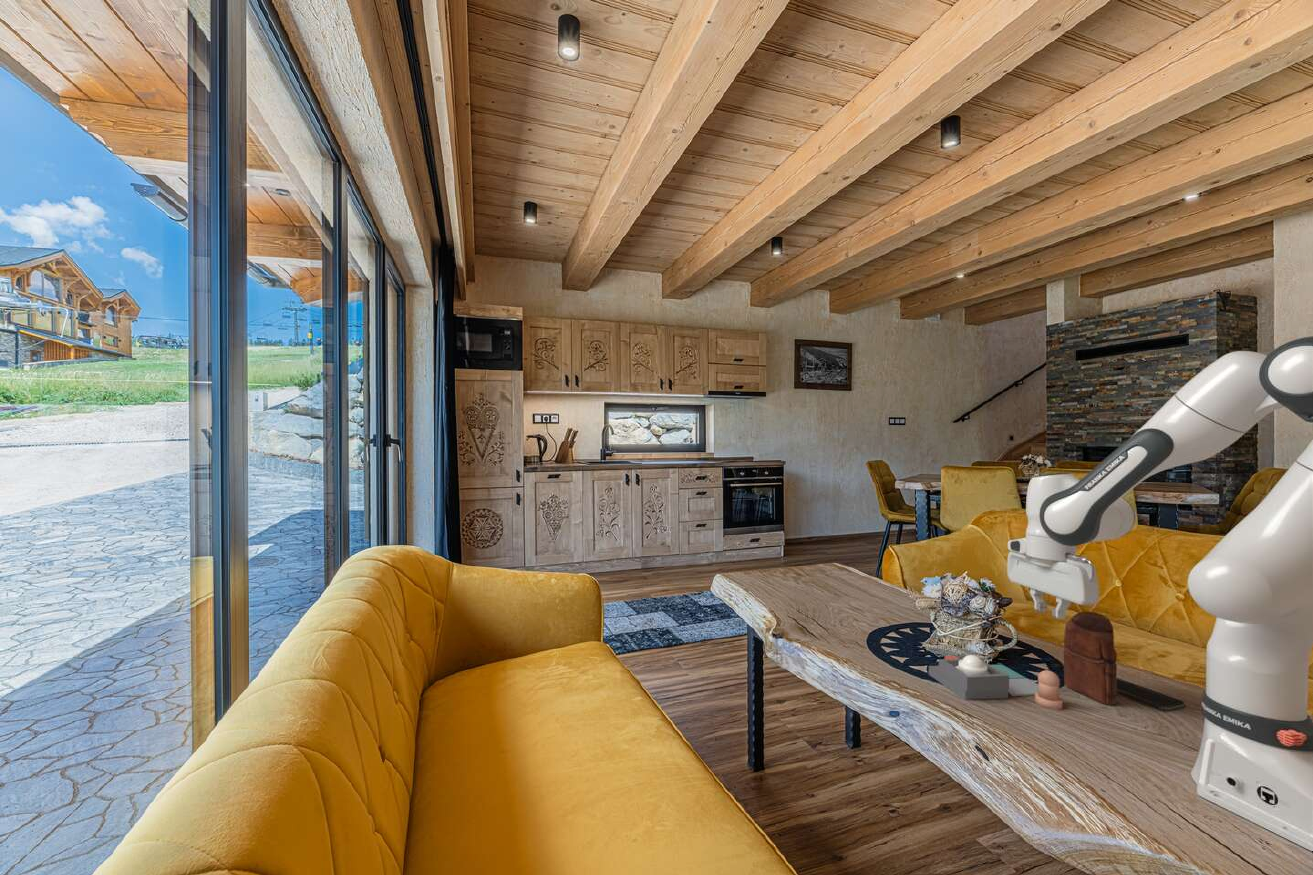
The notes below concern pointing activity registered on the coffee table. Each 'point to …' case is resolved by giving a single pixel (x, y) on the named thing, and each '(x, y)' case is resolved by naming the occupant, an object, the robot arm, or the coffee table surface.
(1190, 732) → the coffee table surface
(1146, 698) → the phone
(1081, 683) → the brown leather bag
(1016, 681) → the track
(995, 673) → the dome base
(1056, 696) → the pawn
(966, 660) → the dome
